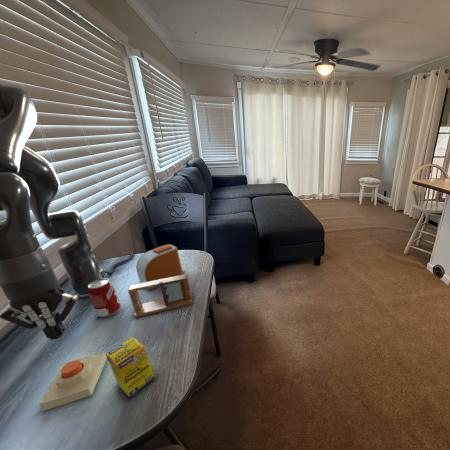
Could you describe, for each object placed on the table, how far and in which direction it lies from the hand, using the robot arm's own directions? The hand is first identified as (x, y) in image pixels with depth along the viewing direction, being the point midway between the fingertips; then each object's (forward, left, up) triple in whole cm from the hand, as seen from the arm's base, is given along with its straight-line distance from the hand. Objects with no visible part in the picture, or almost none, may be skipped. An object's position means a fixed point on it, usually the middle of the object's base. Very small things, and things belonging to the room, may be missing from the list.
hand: (57, 336), depth 55 cm
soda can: (-28, -1, -15) cm, 32 cm away
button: (0, 0, -11) cm, 11 cm away
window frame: (-24, +17, -15) cm, 33 cm away
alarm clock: (-44, +14, -15) cm, 48 cm away
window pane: (-22, +20, -14) cm, 33 cm away
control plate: (0, 0, -15) cm, 15 cm away
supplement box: (+6, +14, -15) cm, 21 cm away
